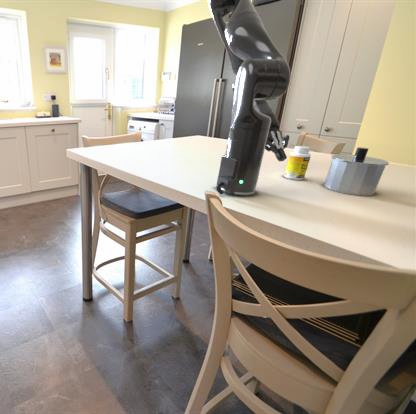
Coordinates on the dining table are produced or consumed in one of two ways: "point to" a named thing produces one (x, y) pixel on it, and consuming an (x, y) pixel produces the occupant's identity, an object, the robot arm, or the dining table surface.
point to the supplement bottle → (298, 163)
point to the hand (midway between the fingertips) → (282, 160)
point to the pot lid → (360, 158)
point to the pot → (353, 178)
